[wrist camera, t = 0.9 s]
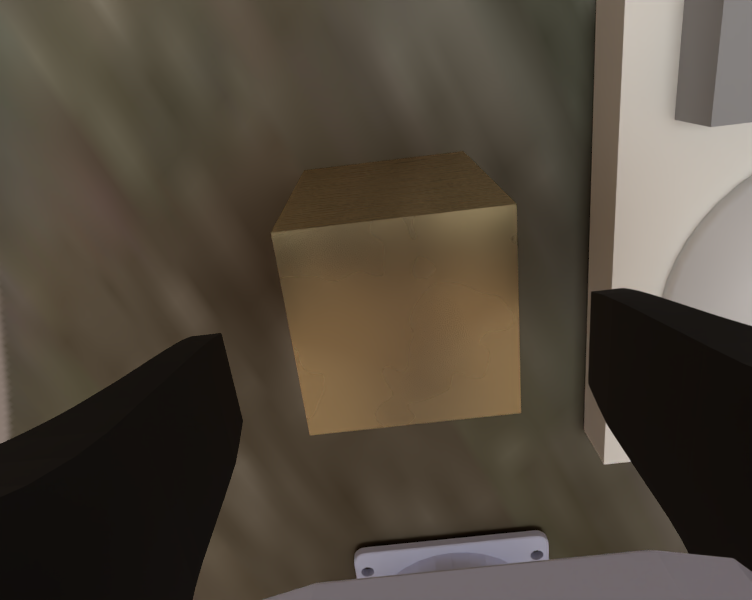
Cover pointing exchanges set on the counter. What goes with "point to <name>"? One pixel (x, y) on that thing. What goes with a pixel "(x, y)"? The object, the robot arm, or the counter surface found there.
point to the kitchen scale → (671, 162)
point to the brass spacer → (401, 293)
